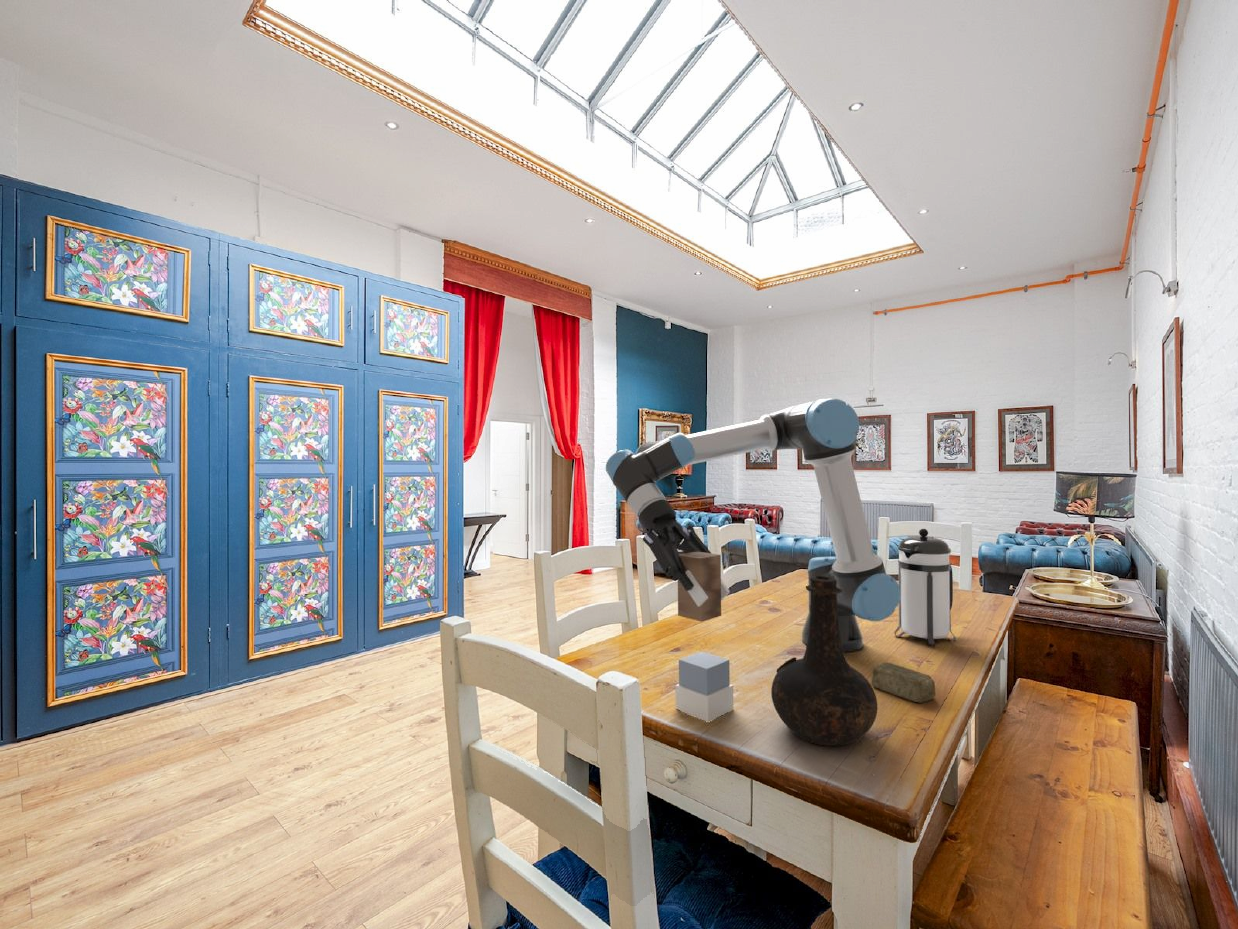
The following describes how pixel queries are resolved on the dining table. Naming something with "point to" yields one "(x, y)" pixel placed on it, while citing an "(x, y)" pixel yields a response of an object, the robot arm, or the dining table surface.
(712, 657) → the tower top block
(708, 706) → the tower base block
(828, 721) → the dark brown bulbous vessel
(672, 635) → the dining table surface
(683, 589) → the walnut block
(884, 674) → the stone block
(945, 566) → the coffee press
